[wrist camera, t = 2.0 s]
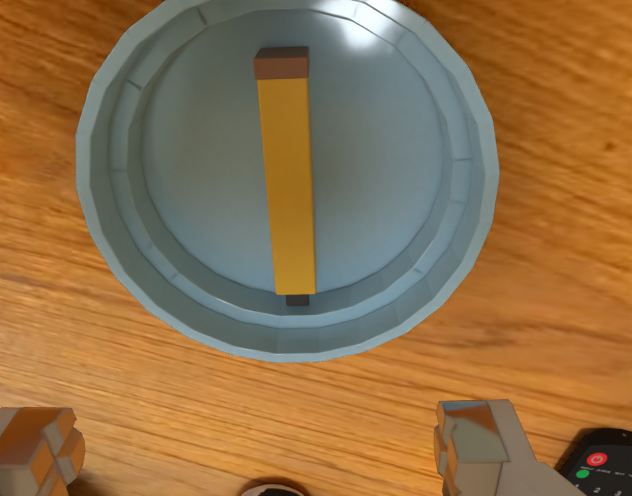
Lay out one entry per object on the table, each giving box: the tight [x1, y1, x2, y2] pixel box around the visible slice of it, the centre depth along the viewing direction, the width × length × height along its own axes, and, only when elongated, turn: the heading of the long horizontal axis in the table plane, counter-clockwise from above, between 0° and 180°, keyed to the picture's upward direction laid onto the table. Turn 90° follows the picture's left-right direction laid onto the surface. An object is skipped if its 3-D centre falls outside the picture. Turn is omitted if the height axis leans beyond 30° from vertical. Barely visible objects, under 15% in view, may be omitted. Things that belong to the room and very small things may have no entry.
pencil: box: [253, 46, 317, 306], centre depth 24 cm, size 12×2×3 cm, turn 2°
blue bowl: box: [76, 0, 500, 363], centre depth 23 cm, size 17×17×4 cm
